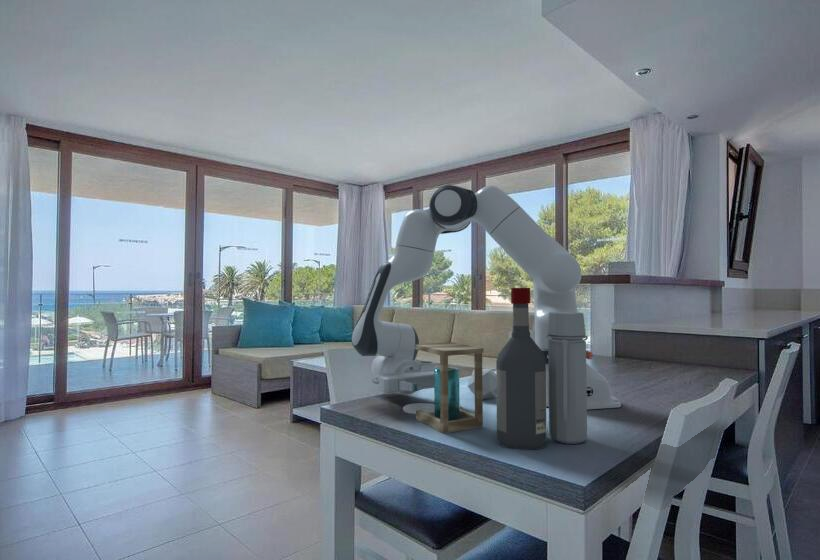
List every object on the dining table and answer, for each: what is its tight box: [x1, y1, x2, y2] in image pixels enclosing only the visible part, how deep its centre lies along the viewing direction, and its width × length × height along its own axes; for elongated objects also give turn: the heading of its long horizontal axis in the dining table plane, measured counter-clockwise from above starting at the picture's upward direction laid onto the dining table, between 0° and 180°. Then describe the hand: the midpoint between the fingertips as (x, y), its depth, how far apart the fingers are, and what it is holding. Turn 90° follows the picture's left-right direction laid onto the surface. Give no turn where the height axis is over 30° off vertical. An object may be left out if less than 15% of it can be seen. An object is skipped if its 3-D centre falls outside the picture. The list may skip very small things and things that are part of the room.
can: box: [433, 365, 461, 421], centre depth 105 cm, size 6×6×12 cm
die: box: [467, 368, 497, 400], centre depth 129 cm, size 8×9×10 cm
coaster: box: [402, 402, 435, 416], centre depth 116 cm, size 9×9×1 cm
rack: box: [414, 341, 484, 434], centre depth 105 cm, size 13×10×17 cm
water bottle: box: [546, 311, 589, 445], centre depth 92 cm, size 9×8×25 cm
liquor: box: [495, 287, 547, 451], centre depth 92 cm, size 9×9×30 cm
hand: (432, 385), depth 111 cm, fingers open, 8 cm apart
